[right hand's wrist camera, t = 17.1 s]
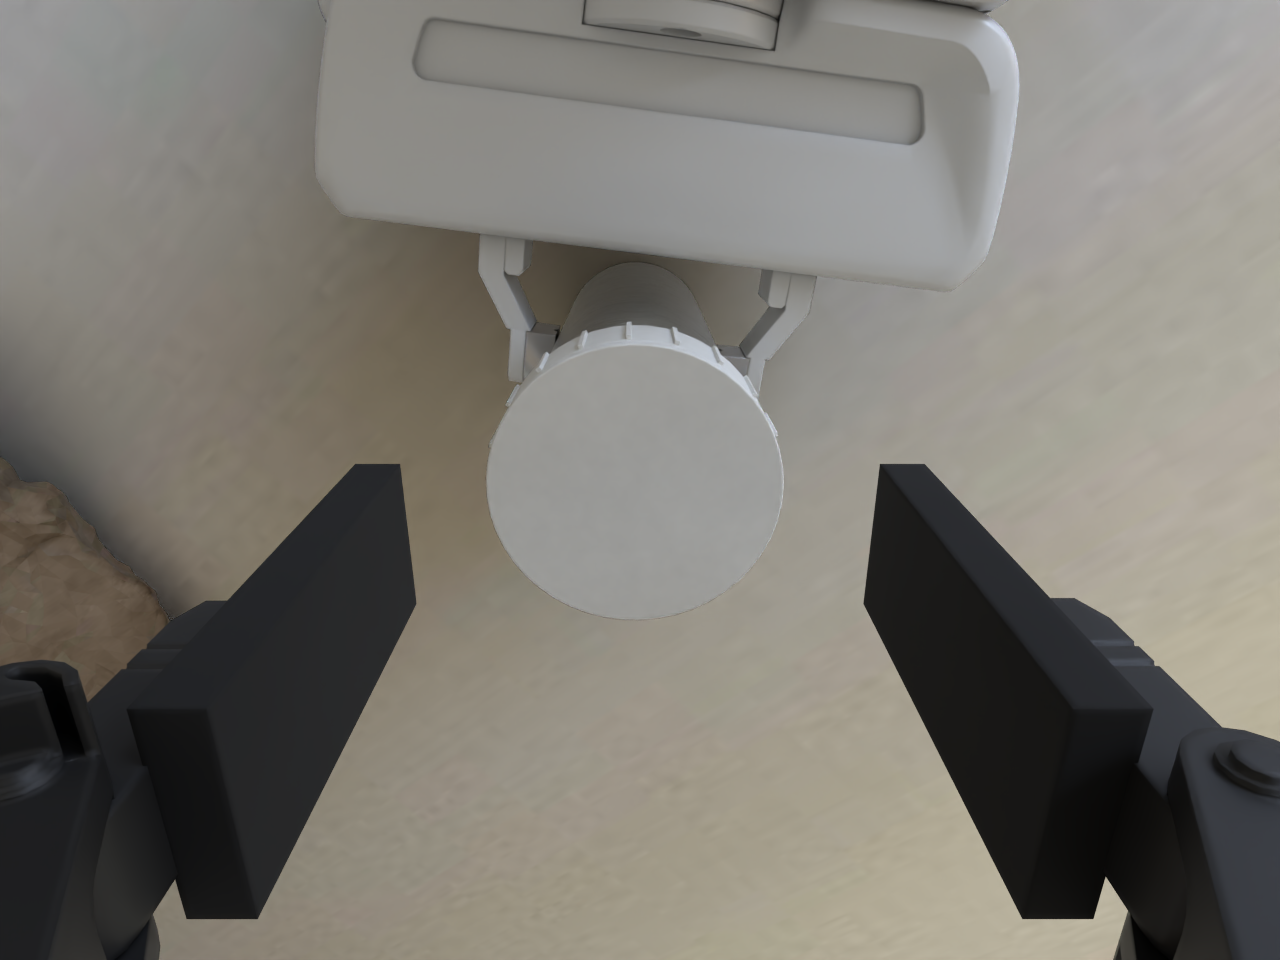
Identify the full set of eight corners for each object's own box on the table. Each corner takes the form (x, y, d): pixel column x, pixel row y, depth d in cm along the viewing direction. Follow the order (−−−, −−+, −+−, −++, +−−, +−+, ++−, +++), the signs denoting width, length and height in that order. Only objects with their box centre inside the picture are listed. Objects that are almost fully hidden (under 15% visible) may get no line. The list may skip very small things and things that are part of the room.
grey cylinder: (639, 420, 34) (641, 640, 18) (541, 334, 33) (452, 490, 17) (729, 326, 33) (817, 477, 17) (631, 232, 31) (627, 298, 16)
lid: (642, 624, 20) (642, 672, 18) (443, 465, 18) (421, 499, 17) (827, 451, 18) (849, 483, 16) (626, 260, 17) (624, 272, 15)
